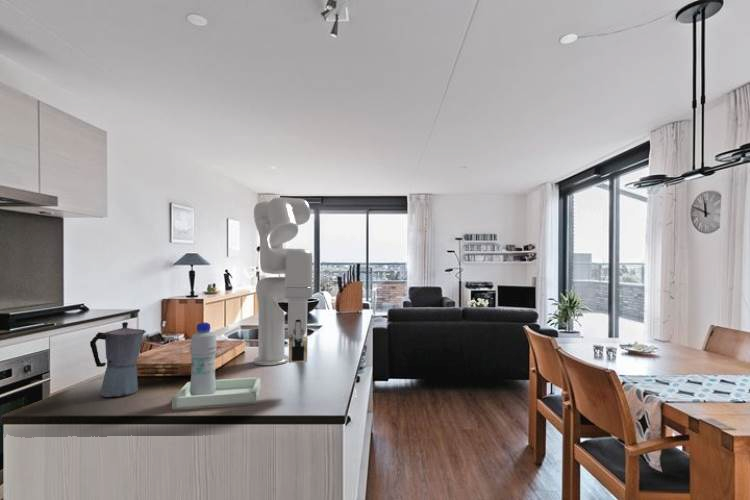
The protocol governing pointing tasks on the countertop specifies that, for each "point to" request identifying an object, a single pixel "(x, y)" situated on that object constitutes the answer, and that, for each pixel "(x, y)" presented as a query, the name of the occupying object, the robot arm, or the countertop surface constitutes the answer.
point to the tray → (220, 394)
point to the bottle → (203, 361)
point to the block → (304, 349)
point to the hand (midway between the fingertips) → (297, 357)
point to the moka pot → (119, 360)
